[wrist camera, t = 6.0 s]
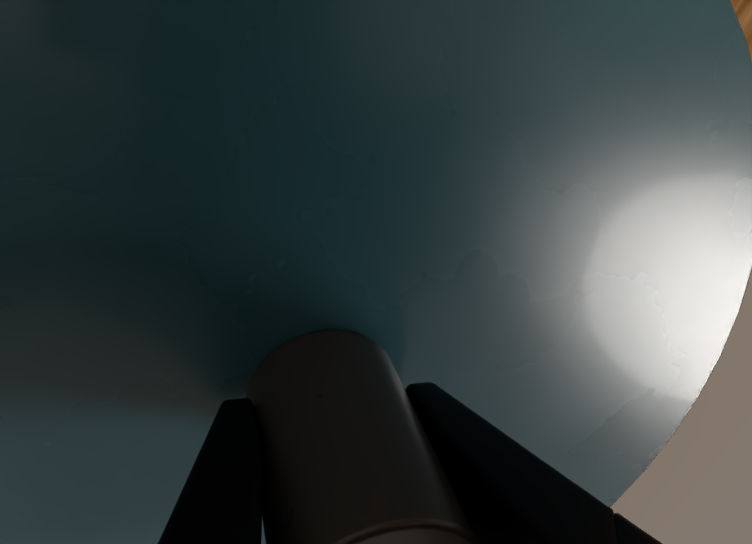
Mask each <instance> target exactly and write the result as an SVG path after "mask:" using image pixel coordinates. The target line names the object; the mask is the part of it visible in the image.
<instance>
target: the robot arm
mask: <svg viewBox="0 0 752 544" xmlns="http://www.w3.org/2000/svg"><path fill="white" fill-rule="evenodd" d="M405 391H406V393H407V395H408V397H409V399H410V401H411V403H412V405H413V407H414V409H415V411H416V413H417V415H418V418H419V420H420V422H421V424H422V426H423V428H424V430H425V432H426V434H427V436H428V438H429V440H430V442H431V444H432V446H433V449H434V451H435V453H436V455H437V457H438V459H439V461H440V463H441V465H442V467H443V469H444V471H445V473H446V475H447V477H448V480H449V482H450V484H451V486H452V488H453V490H454V492H455V494H456V496H457V498H458V500H459V502H460V504H461V506H462V509H463V511H464V513H465V515H466V517H467V519H468V521H469V523H470V525H471V527H472V529H473V531H474V533H475V535H476V537H477V540H478V542H479V544H662V543H660V542H659V541H657V540H656V539H654V538H653V537H652V536H650V535H649V534H647V533H646V532H644V531H643V530H641V529H640V528H638V527H637V526H636V525H634V524H633V523H631V522H630V521H628V520H627V519H626V518H624V517H623V516H621V515H620V514H618V513H615V514H614V512H613V510H612V509H611V508H610V507H608V506H607V505H606V504H604V503H603V502H601V501H600V500H599V499H597V498H596V497H594V496H593V495H591V494H590V493H589V492H587V491H586V490H584V489H583V488H582V487H580V486H579V485H577V484H576V483H574V482H573V481H572V480H570V479H569V478H567V477H566V476H565V475H563V474H562V473H560V472H559V471H557V470H556V469H555V468H553V467H552V466H550V465H549V464H548V463H546V462H545V461H543V460H542V459H541V458H539V457H538V456H536V455H535V454H533V453H532V452H531V451H529V450H528V449H526V448H525V447H524V446H522V445H521V444H519V443H518V442H516V441H515V440H514V439H512V438H511V437H509V436H508V435H507V434H505V433H504V432H502V431H501V430H500V429H498V428H497V427H495V426H494V425H492V424H491V423H490V422H488V421H487V420H485V419H484V418H483V417H481V416H480V415H478V414H477V413H475V412H474V411H473V410H471V409H470V408H468V407H467V406H466V405H464V404H463V403H461V402H460V401H459V400H457V399H456V398H454V397H453V396H451V395H450V394H449V393H447V392H446V391H444V390H443V389H442V388H440V387H439V386H437V385H436V384H434V383H432V382H424V383H413V384H410V385H408V386H407V388H406V390H405ZM262 500H263V455H262V448H261V443H260V438H259V433H258V428H257V423H256V418H255V413H254V408H253V403H252V401H251V399H249V398H240V399H229V400H225V401H223V402H222V404H221V405H220V408H219V410H218V412H217V414H216V416H215V419H214V421H213V423H212V425H211V427H210V430H209V432H208V434H207V436H206V438H205V441H204V443H203V445H202V447H201V449H200V452H199V454H198V456H197V458H196V460H195V463H194V465H193V467H192V469H191V471H190V474H189V476H188V478H187V480H186V482H185V485H184V487H183V489H182V491H181V493H180V496H179V498H178V500H177V502H176V504H175V507H174V509H173V511H172V513H171V515H170V518H169V520H168V522H167V524H166V526H165V529H164V531H163V533H162V535H161V537H160V540H159V542H158V544H261V537H262Z"/></svg>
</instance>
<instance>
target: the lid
mask: <svg viewBox="0 0 752 544" xmlns="http://www.w3.org/2000/svg"><path fill="white" fill-rule="evenodd" d="M751 270H752V63H751V58H750V54H749V50H748V46H747V42H746V39H745V36H744V34H743V31H742V29H741V27H740V24H739V22H738V19H737V17H736V14H735V12H734V10H733V7H732V5H731V2H730V0H0V544H158V542H159V540H160V537H161V535H162V533H163V531H164V529H165V526H166V524H167V522H168V520H169V518H170V515H171V513H172V511H173V509H174V507H175V504H176V502H177V500H178V498H179V496H180V493H181V491H182V489H183V487H184V485H185V482H186V480H187V478H188V476H189V474H190V471H191V469H192V467H193V465H194V463H195V460H196V458H197V456H198V454H199V452H200V449H201V447H202V445H203V443H204V441H205V438H206V436H207V434H208V432H209V430H210V427H211V425H212V423H213V421H214V419H215V416H216V414H217V412H218V410H219V408H220V405H221V404H222V402H223V401H225V400H229V399H240V398H249V399H251V401H252V403H253V408H254V413H255V418H256V423H257V428H258V433H259V438H260V443H261V448H262V455H263V500H262V537H261V544H479V542H478V540H477V537H476V535H475V533H474V531H473V529H472V527H471V525H470V523H469V521H468V519H467V517H466V515H465V513H464V511H463V509H462V506H461V504H460V502H459V500H458V498H457V496H456V494H455V492H454V490H453V488H452V486H451V484H450V482H449V480H448V477H447V475H446V473H445V471H444V469H443V467H442V465H441V463H440V461H439V459H438V457H437V455H436V453H435V451H434V449H433V446H432V444H431V442H430V440H429V438H428V436H427V434H426V432H425V430H424V428H423V426H422V424H421V422H420V420H419V418H418V415H417V413H416V411H415V409H414V407H413V405H412V403H411V401H410V399H409V397H408V395H407V393H406V391H405V390H406V388H407V386H408V385H410V384H413V383H424V382H432V383H434V384H436V385H437V386H439V387H440V388H442V389H443V390H444V391H446V392H447V393H449V394H450V395H451V396H453V397H454V398H456V399H457V400H459V401H460V402H461V403H463V404H464V405H466V406H467V407H468V408H470V409H471V410H473V411H474V412H475V413H477V414H478V415H480V416H481V417H483V418H484V419H485V420H487V421H488V422H490V423H491V424H492V425H494V426H495V427H497V428H498V429H500V430H501V431H502V432H504V433H505V434H507V435H508V436H509V437H511V438H512V439H514V440H515V441H516V442H518V443H519V444H521V445H522V446H524V447H525V448H526V449H528V450H529V451H531V452H532V453H533V454H535V455H536V456H538V457H539V458H541V459H542V460H543V461H545V462H546V463H548V464H549V465H550V466H552V467H553V468H555V469H556V470H557V471H559V472H560V473H562V474H563V475H565V476H566V477H567V478H569V479H570V480H572V481H573V482H574V483H576V484H577V485H579V486H580V487H582V488H583V489H584V490H586V491H587V492H589V493H590V494H591V495H593V496H594V497H596V498H597V499H599V500H600V501H601V502H603V503H604V504H606V505H607V506H608V507H611V506H612V505H613V504H614V503H615V502H616V501H617V500H618V499H619V498H620V497H621V495H622V494H623V493H624V492H625V491H626V490H627V489H628V488H629V487H630V486H631V485H632V484H633V483H634V482H635V481H636V480H637V478H638V477H639V476H640V475H641V474H642V473H643V472H644V471H645V470H646V469H647V467H648V466H649V465H650V464H651V462H652V461H653V460H654V458H655V457H656V456H657V455H658V453H659V452H660V451H661V450H662V448H663V447H664V446H665V445H666V443H667V442H668V441H669V440H670V438H671V437H672V436H673V434H674V433H675V431H676V430H677V428H678V427H679V425H680V424H681V422H682V421H683V419H684V418H685V416H686V415H687V413H688V412H689V410H690V409H691V407H692V406H693V404H694V403H695V401H696V400H697V398H698V397H699V395H700V393H701V391H702V389H703V387H704V386H705V384H706V382H707V380H708V378H709V376H710V375H711V373H712V371H713V369H714V367H715V365H716V363H717V362H718V360H719V358H720V356H721V354H722V352H723V349H724V347H725V344H726V342H727V340H728V337H729V335H730V332H731V330H732V328H733V325H734V323H735V320H736V318H737V316H738V313H739V311H740V307H741V304H742V301H743V298H744V294H745V291H746V287H747V284H748V281H749V277H750V274H751Z"/></svg>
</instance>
